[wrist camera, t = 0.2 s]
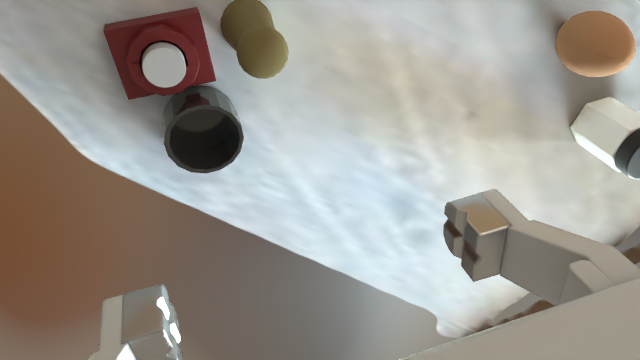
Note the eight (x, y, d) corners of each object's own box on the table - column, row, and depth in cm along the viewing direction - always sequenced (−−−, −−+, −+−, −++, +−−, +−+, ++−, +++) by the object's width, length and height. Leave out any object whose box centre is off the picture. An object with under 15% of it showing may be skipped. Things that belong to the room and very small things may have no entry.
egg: (563, 67, 75) (620, 99, 66) (529, 45, 71) (585, 76, 62) (601, 17, 72) (666, 43, 63) (568, -9, 68) (633, 15, 59)
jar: (620, 120, 85) (680, 156, 76) (580, 151, 87) (634, 190, 77) (607, 86, 80) (669, 120, 71) (564, 119, 81) (620, 157, 72)
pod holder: (153, 94, 59) (154, 115, 55) (227, 78, 61) (234, 97, 56) (173, 157, 64) (176, 180, 60) (242, 140, 66) (249, 162, 62)
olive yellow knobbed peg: (210, 33, 57) (224, 70, 48) (237, -13, 55) (256, 16, 46) (255, 58, 60) (275, 97, 52) (282, 15, 58) (307, 47, 50)
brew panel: (104, 24, 53) (102, 36, 50) (197, 6, 55) (201, 17, 52) (128, 91, 58) (128, 106, 55) (213, 73, 60) (218, 87, 57)
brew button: (136, 46, 52) (136, 52, 51) (178, 38, 53) (179, 43, 51) (149, 85, 55) (149, 91, 53) (189, 76, 55) (190, 82, 54)
